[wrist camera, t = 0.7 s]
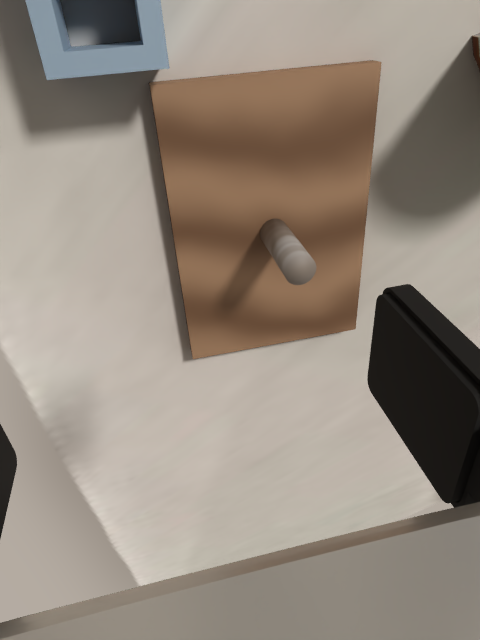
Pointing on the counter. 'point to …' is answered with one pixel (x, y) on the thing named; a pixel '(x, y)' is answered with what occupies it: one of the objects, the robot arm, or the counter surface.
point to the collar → (102, 57)
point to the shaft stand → (268, 199)
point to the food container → (476, 48)
